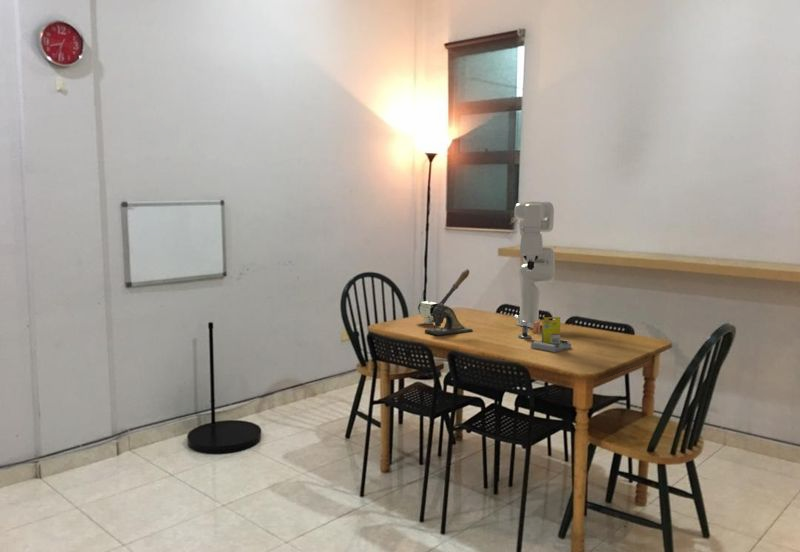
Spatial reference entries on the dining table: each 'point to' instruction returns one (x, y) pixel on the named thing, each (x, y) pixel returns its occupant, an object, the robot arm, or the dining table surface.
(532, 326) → the press lever
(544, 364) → the dining table surface
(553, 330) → the crayon box
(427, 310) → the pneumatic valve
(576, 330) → the dining table surface
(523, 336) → the lever post
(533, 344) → the plate
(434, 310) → the embossing press
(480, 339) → the dining table surface
